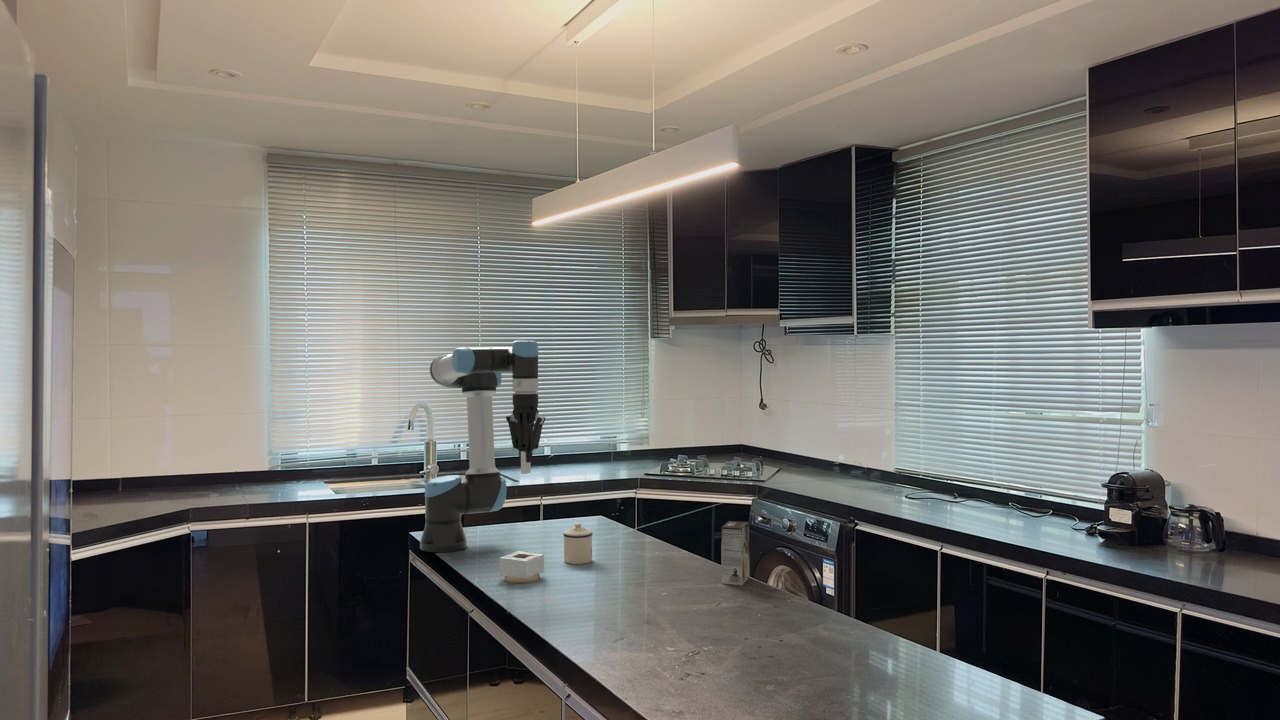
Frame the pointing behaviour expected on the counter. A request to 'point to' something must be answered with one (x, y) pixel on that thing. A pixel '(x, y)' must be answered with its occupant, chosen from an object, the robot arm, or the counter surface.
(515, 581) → the hub
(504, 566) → the white boxy piece
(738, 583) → the coffee box
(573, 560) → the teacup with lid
